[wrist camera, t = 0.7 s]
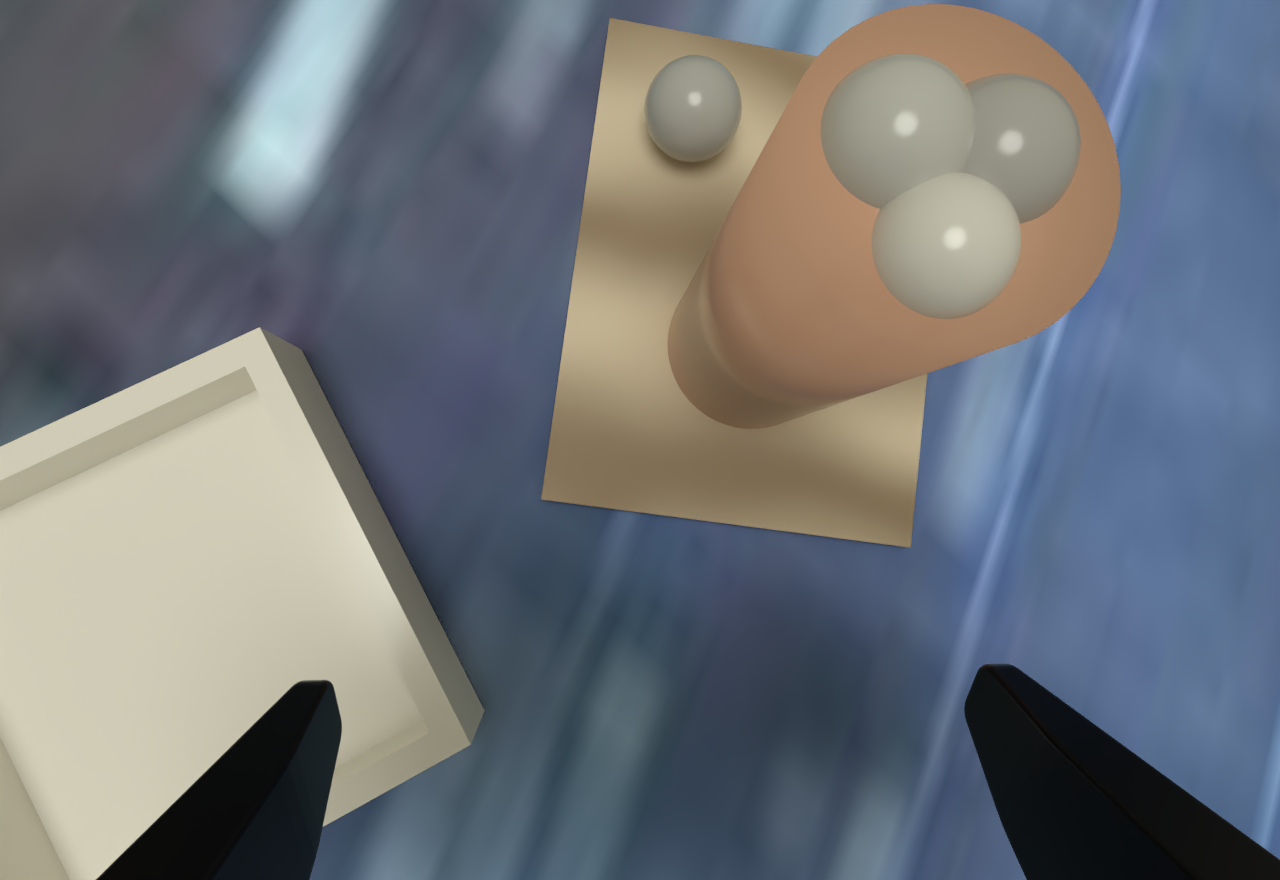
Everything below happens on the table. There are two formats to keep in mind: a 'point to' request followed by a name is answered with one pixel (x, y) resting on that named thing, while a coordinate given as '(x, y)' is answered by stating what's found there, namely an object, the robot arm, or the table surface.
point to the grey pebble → (693, 108)
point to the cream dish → (200, 605)
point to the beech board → (640, 319)
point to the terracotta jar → (900, 219)
